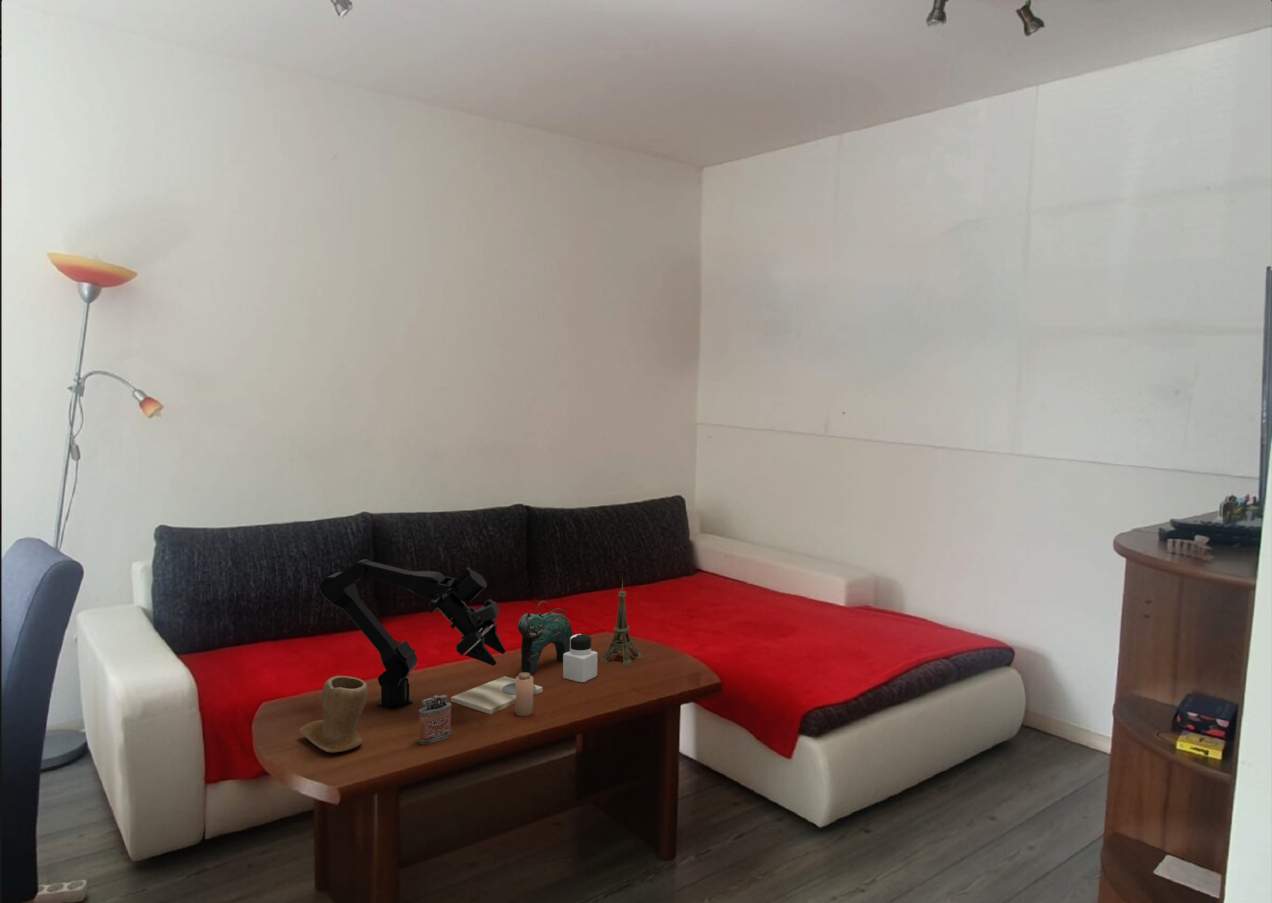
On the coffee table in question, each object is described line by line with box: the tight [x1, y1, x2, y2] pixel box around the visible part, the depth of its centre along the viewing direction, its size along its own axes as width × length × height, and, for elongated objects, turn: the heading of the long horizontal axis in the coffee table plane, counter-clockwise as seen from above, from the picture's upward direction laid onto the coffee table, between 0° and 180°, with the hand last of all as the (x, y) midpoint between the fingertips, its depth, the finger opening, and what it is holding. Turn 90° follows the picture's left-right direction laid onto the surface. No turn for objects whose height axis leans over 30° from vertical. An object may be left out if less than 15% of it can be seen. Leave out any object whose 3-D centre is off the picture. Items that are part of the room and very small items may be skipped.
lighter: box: [418, 694, 452, 745], centre depth 197 cm, size 8×3×10 cm, turn 135°
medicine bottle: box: [562, 633, 598, 684], centre depth 240 cm, size 7×7×12 cm
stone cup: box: [299, 675, 369, 753], centre depth 193 cm, size 15×12×15 cm
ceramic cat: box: [517, 600, 574, 675], centre depth 248 cm, size 20×6×20 cm, turn 141°
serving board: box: [450, 675, 544, 715], centre depth 224 cm, size 20×14×1 cm
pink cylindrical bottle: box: [514, 671, 534, 717], centre depth 213 cm, size 4×4×10 cm
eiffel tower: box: [599, 578, 644, 668], centre depth 256 cm, size 11×11×25 cm
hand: (499, 658), depth 214 cm, fingers open, 9 cm apart
